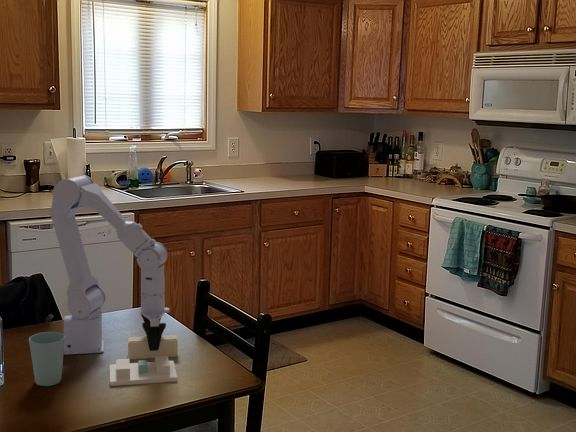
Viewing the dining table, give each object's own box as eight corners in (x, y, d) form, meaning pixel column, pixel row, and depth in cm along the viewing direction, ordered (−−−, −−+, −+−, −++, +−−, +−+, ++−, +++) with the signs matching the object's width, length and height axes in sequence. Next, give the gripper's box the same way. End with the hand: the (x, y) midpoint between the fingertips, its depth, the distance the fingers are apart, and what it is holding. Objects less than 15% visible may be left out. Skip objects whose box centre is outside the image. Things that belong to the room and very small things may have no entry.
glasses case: (128, 360, 170) (128, 342, 169) (128, 354, 174) (127, 336, 173) (177, 357, 173) (177, 339, 172) (175, 351, 177) (176, 334, 176)
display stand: (109, 386, 154) (109, 373, 154) (109, 368, 164) (109, 356, 163) (177, 381, 158) (177, 369, 158) (173, 364, 168) (173, 352, 167)
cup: (47, 391, 151) (46, 346, 149) (22, 383, 154) (21, 339, 152) (73, 379, 157) (72, 335, 156) (48, 372, 161) (47, 329, 159)
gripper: (171, 300, 164) (171, 354, 167) (166, 283, 178) (166, 333, 181) (141, 301, 163) (142, 356, 165) (139, 284, 176) (139, 335, 179)
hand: (153, 344), depth 173 cm, fingers open, 7 cm apart
